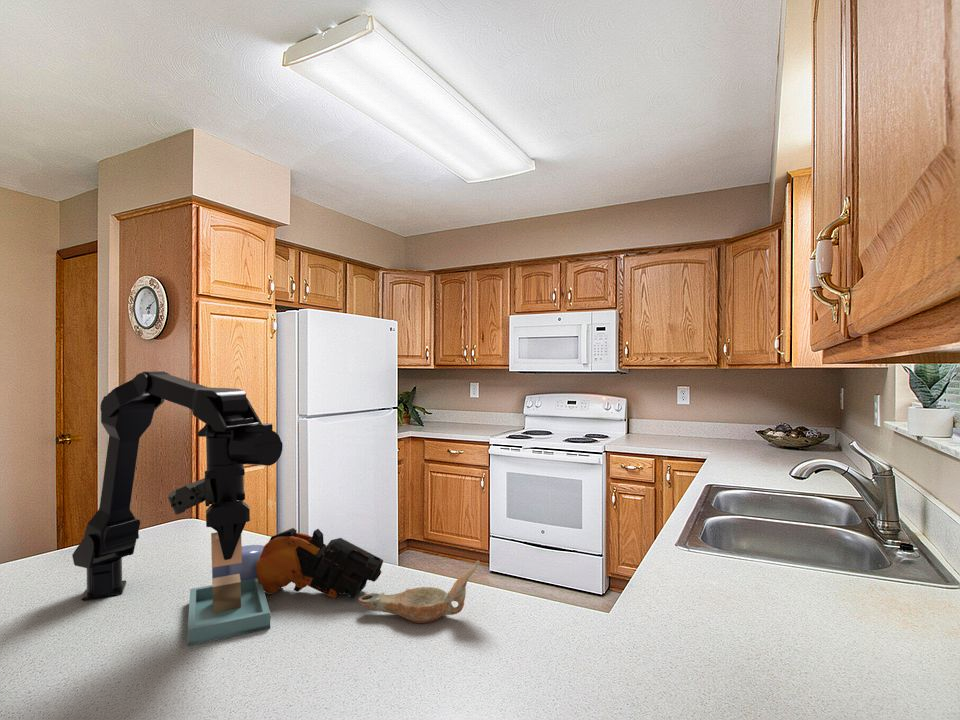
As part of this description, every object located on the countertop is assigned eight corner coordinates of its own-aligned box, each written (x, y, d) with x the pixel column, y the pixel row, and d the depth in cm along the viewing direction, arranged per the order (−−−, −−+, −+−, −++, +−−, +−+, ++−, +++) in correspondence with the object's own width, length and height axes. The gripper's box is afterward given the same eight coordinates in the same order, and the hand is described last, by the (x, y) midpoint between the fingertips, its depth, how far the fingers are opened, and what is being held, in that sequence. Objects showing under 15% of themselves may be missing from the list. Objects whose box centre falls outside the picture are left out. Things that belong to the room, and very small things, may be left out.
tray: (190, 602, 101) (190, 588, 101) (260, 589, 106) (260, 576, 106) (187, 646, 85) (187, 629, 85) (270, 628, 90) (270, 612, 90)
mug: (212, 586, 108) (211, 550, 109) (265, 576, 113) (264, 542, 113) (212, 599, 102) (212, 561, 102) (268, 588, 107) (268, 552, 107)
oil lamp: (476, 632, 88) (475, 569, 88) (349, 625, 91) (348, 565, 91) (484, 608, 96) (483, 551, 96) (368, 603, 99) (367, 548, 100)
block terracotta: (240, 554, 96) (239, 529, 96) (241, 562, 92) (241, 535, 92) (211, 559, 94) (211, 533, 94) (212, 567, 90) (211, 540, 90)
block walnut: (239, 598, 101) (239, 573, 101) (241, 607, 97) (240, 582, 97) (212, 603, 99) (212, 578, 99) (212, 612, 95) (212, 586, 95)
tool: (347, 644, 99) (376, 568, 98) (240, 589, 102) (267, 515, 101) (365, 622, 107) (391, 552, 105) (265, 572, 110) (290, 504, 109)
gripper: (173, 460, 98) (175, 548, 98) (167, 477, 81) (169, 583, 81) (241, 454, 103) (243, 537, 103) (248, 469, 86) (251, 568, 86)
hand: (227, 555), depth 93 cm, fingers closed on block terracotta, 4 cm apart
